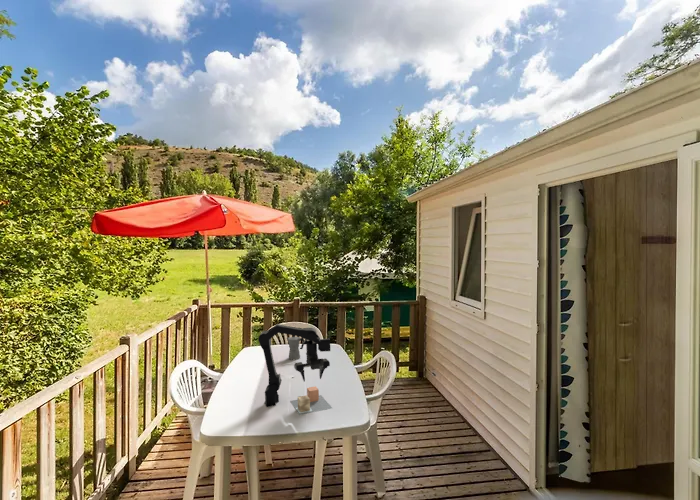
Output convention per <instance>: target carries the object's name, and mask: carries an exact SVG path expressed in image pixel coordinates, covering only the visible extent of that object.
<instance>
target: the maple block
mask: <svg viewBox="0 0 700 500" xmlns="http://www.w3.org/2000/svg"><path fill="white" fill-rule="evenodd" d="M297 400H298V409H299V411H300V412H305V411H309V410H310V398H309V397H308V396H307V394H306V395H302V396H297Z"/></svg>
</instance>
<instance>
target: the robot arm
mask: <svg viewBox="0 0 700 500" xmlns="http://www.w3.org/2000/svg"><path fill="white" fill-rule="evenodd" d="M277 334H285V335H290V336H293V335H295V337H299V338H303V339H304V340H305V341H304V342H303V341H302V342H303V345H306V349H305V350H306V352H305V354H306V363H303V362H302V361H299V362H298V361H297V362H295V363H294V364H293V368H294V370H295V371H296V372H298V373H300V375H301V378H302V381H303V383H304V382H305V381H306V378H305V368H309V367H310V369H311V370H312V371H314V370H318V371H319V379H320V380H322V377H323V374H324V371H325V369H327V368H328V367H330V366H331V363H330V361H329V360H328V359H327V358H319V355H318V351H320V352H321V353H322V352H331V339H330V338H321V337H320V336H319V335H318V332H317V330H316V329H315V328H314V327H296V326H295V327H294V326H288V325H283V324H280V323H276V324H275V325H274V326H273V327H272V326H271V328H269V329H267V330H264V331H261V332H260V335H259V336H258V339H257V340H258V343H259V346H260V347H261V349H262V351H263V355H264V359H265V364H266V369H267V373H268V384H267V386H266V388H265V390H264V405H265V407H266V408H269V407H274V406H277V405H276V404H277V403H279V402H280V401H279V400H280V398H279V397H280V395H279V394H278V392H279V389H280V387H281V384H282V377H281V373H278V372H277V370H276V366H275V360H274V356H273V352H272V338H274V337H275V336H276V335H277Z"/></svg>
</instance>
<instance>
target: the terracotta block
mask: <svg viewBox="0 0 700 500" xmlns="http://www.w3.org/2000/svg"><path fill="white" fill-rule="evenodd" d="M319 393H320V391H319V388H318V387H317V386H316V385H314V386H309V387H307V388H306V395H307V396H308V397H309V398H310V402H313V401H318V400H319V395H320V394H319Z"/></svg>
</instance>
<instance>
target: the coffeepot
mask: <svg viewBox="0 0 700 500" xmlns="http://www.w3.org/2000/svg"><path fill="white" fill-rule="evenodd" d="M286 340H287V341H288V347H289V352H288V358H289V359H288V360H290V359H297V360H300V359H301V354H300V350H303V348H304V345H303V342H304V341H305V339H304V338H302V337H300V336H295V335H292V337H290V336H289V337H286ZM300 342H301V347H300ZM299 358H300V359H299Z"/></svg>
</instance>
